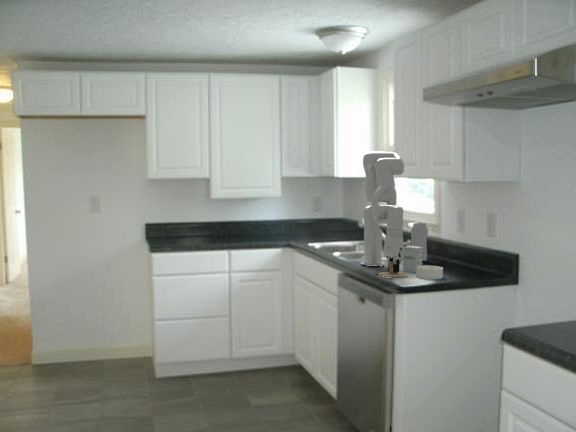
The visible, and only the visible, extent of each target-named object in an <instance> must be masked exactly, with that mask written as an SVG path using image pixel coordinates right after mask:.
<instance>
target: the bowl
mask: <svg viewBox="0 0 576 432" xmlns="http://www.w3.org/2000/svg"><path fill="white" fill-rule="evenodd" d="M443 271H444V267H442V266H437V265H426V264H425V265H422V266H417V270H416V272H415V277H416V278H419V279H423V280H424V279H425V280H441V279H443V274H444V272H443Z"/></svg>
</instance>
